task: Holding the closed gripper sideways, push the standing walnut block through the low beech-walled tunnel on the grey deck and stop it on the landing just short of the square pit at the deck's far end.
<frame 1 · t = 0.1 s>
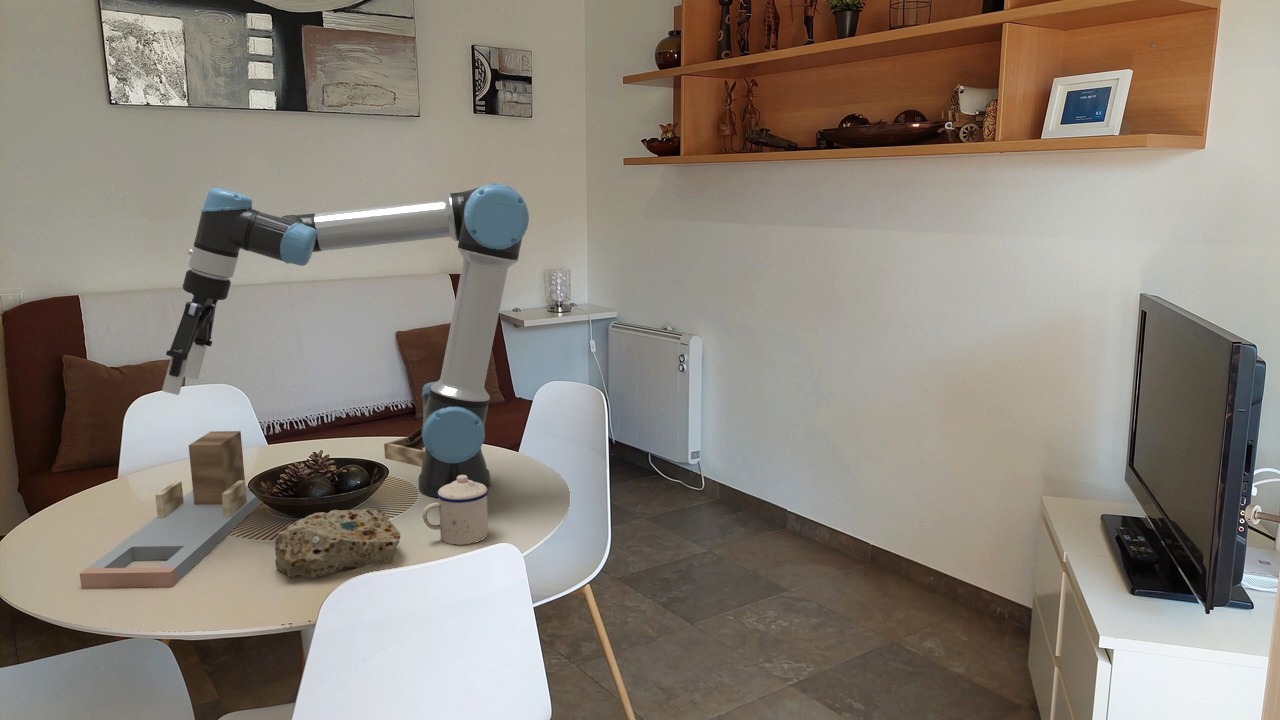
hand: (180, 384, 169), 28 cm above the table, tool tilted 20°, fingers open, 13 cm apart
walnut block: (220, 495, 185), point 2 cm above the table, touching grey deck
oak coaster frame: (429, 454, 221), on the table
beech tunnel walls: (202, 498, 176), on the grey deck, point 5 cm above the table
teacup with lid: (456, 539, 169), on the table
rock: (340, 564, 158), on the table
pottery mug: (430, 455, 221), on the table
grey deck: (186, 537, 170), on the table
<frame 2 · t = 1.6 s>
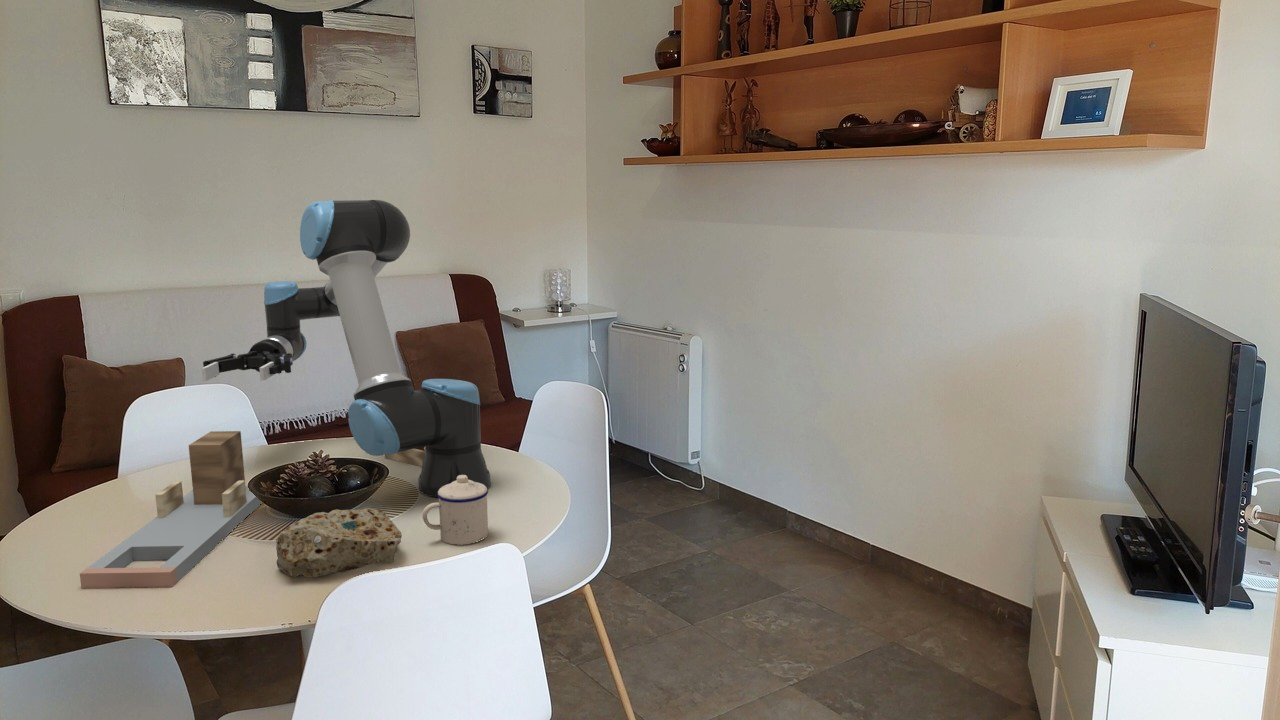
hand: (232, 374, 191), 25 cm above the table, tool horizontal, fingers open, 11 cm apart
nothing on the table moved.
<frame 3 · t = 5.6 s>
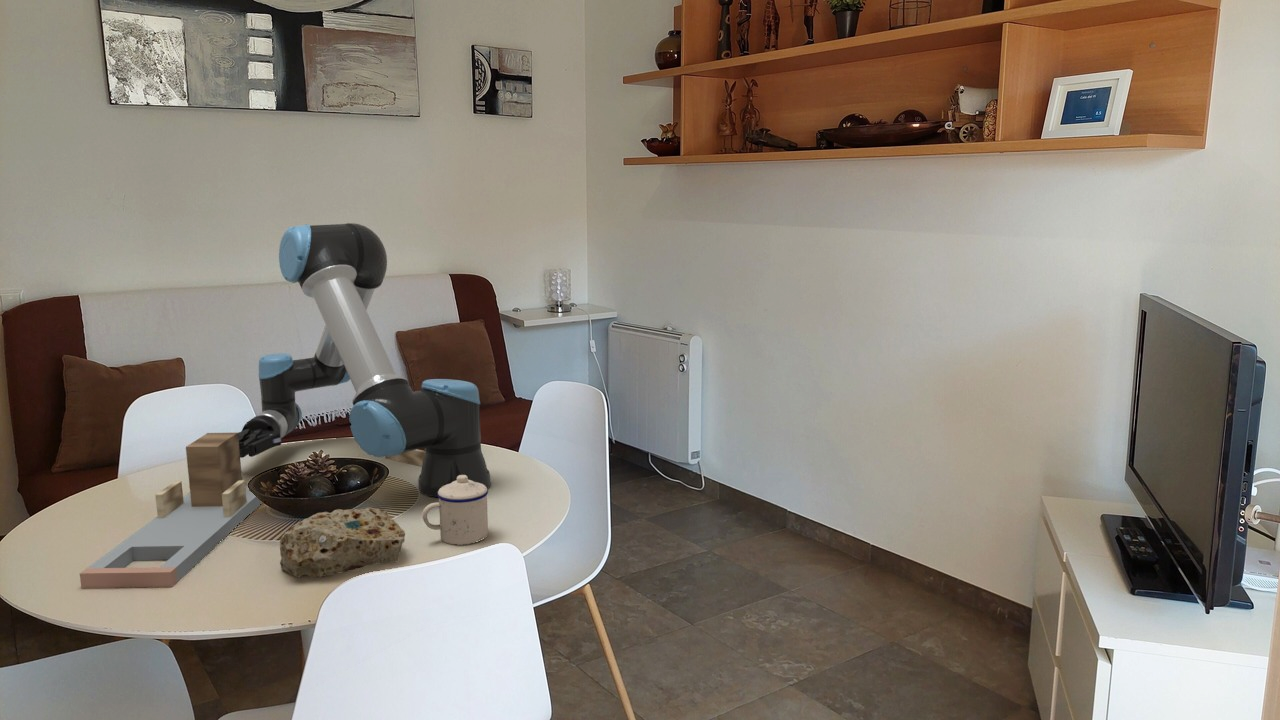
hand: (221, 461, 187), 8 cm above the table, tool horizontal, fingers closed
walnut block: (217, 497, 183), point 3 cm above the table
everything else where it was.
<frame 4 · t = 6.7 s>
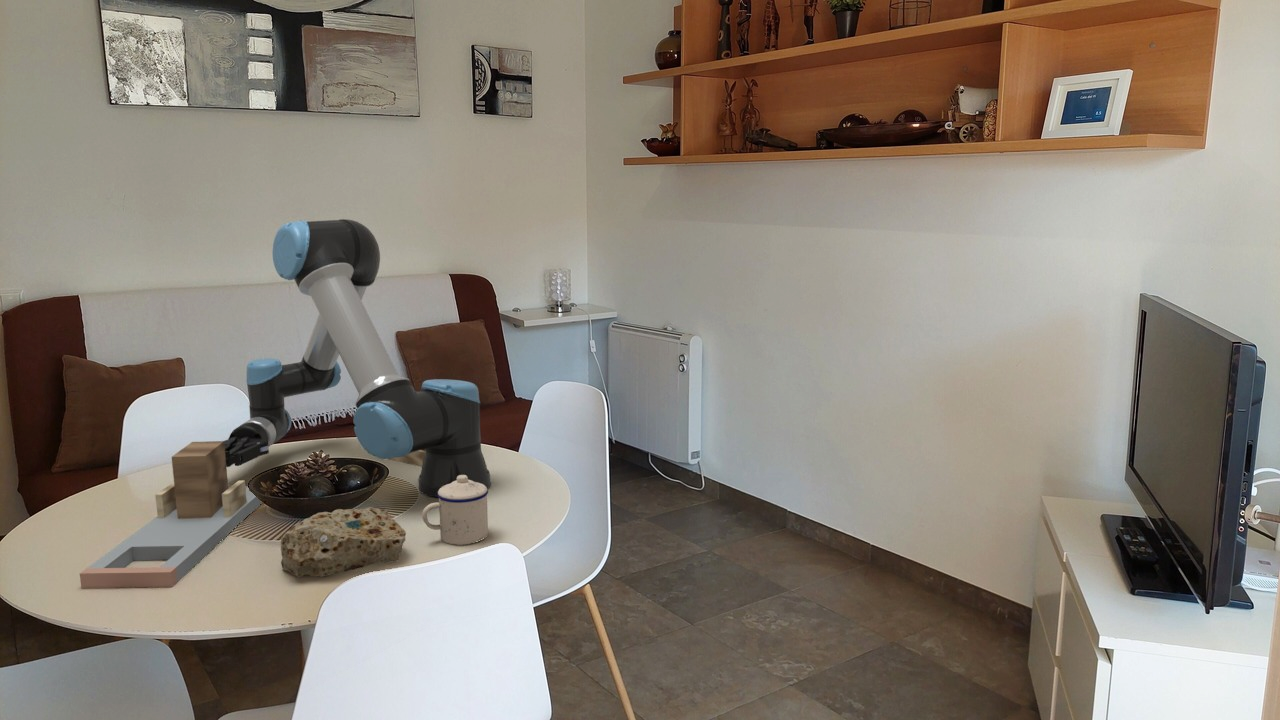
hand: (205, 471, 181), 8 cm above the table, tool horizontal, fingers closed
walnut block: (204, 508, 177), point 3 cm above the table, touching grey deck, gripper
everything else where it was.
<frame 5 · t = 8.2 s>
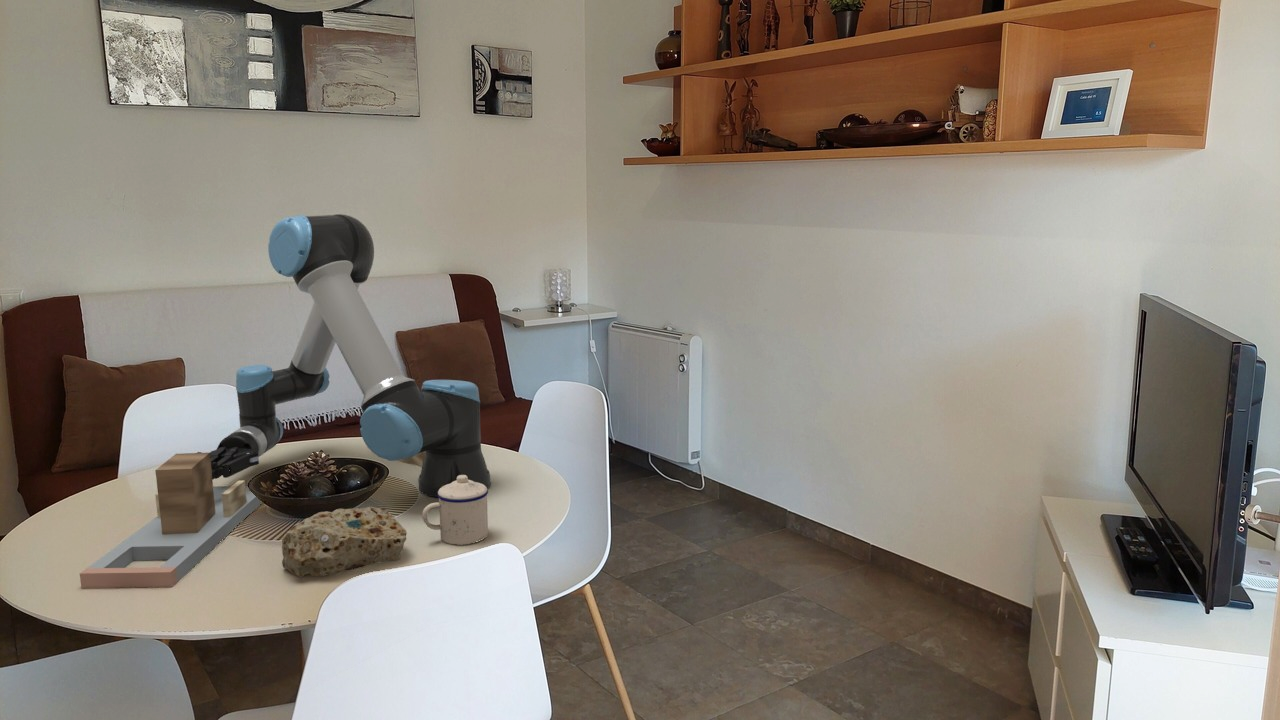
hand: (192, 483, 174), 8 cm above the table, tool horizontal, fingers closed
walnut block: (189, 523, 170), point 3 cm above the table
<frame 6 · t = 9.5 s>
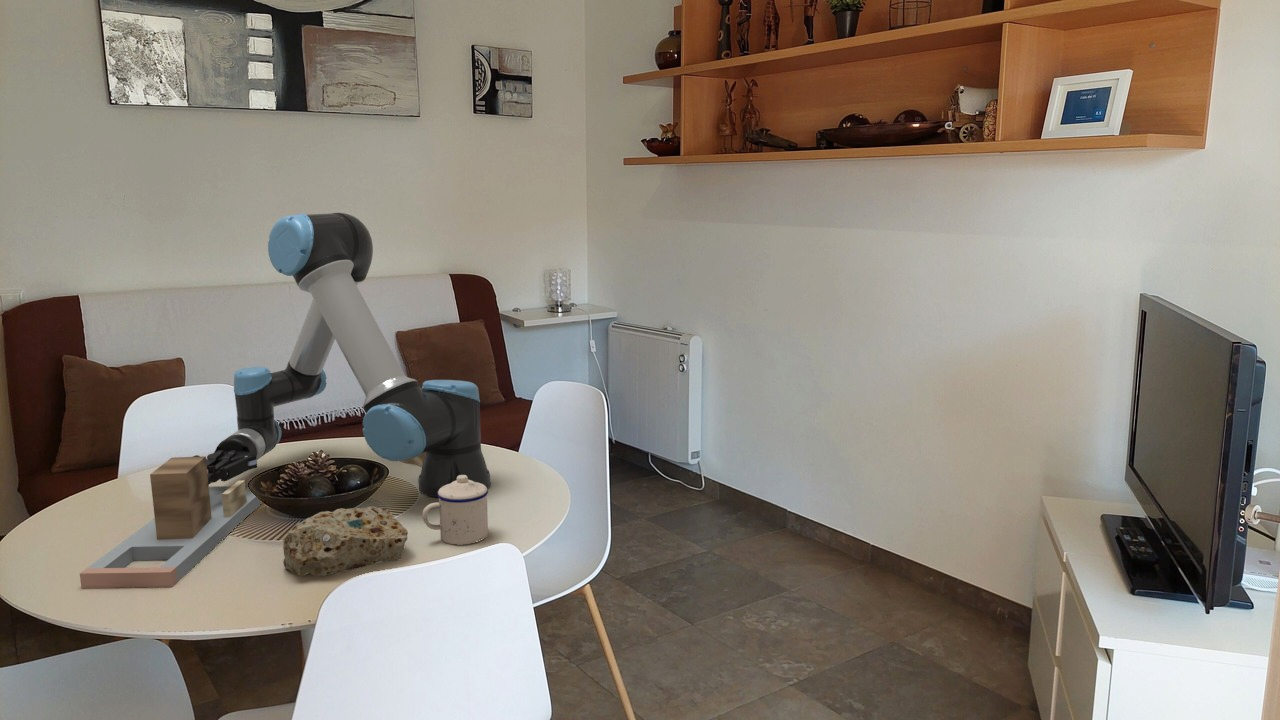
hand: (189, 487, 171), 9 cm above the table, tool horizontal, fingers closed
walnut block: (185, 528, 167), point 2 cm above the table, touching grey deck, gripper
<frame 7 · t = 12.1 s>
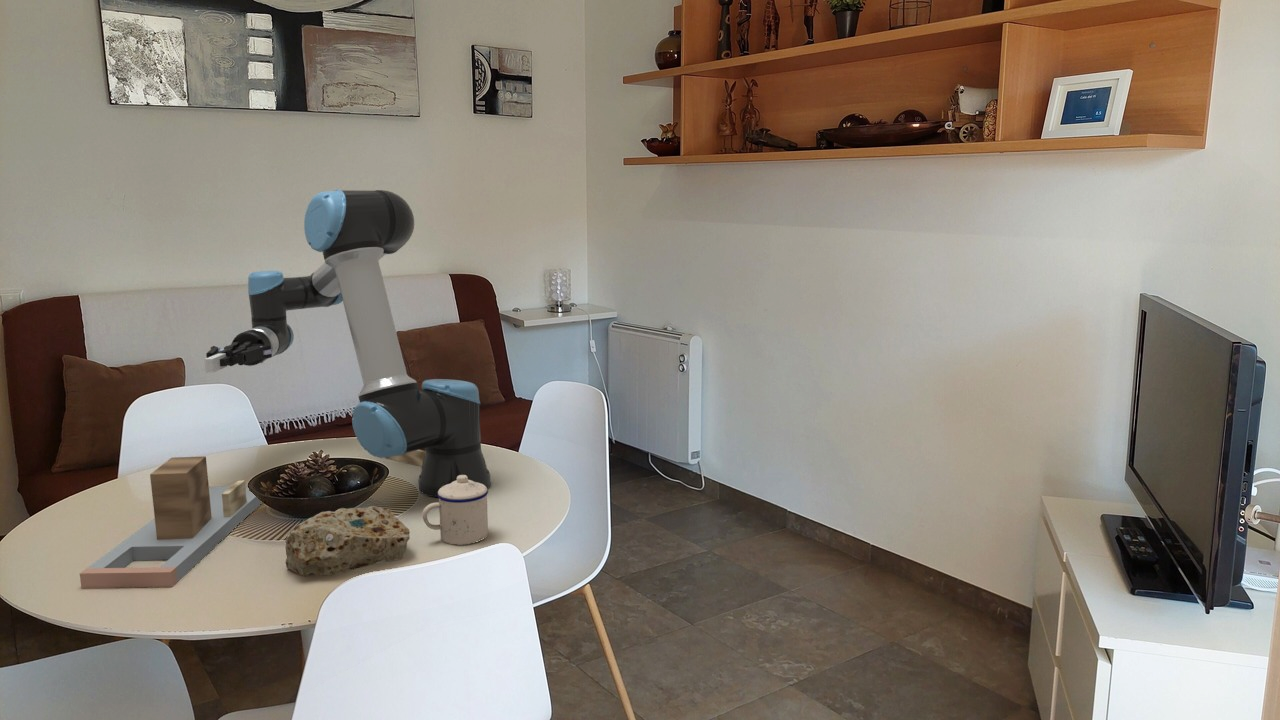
hand: (208, 365, 180), 29 cm above the table, tool horizontal, fingers closed
walnut block: (185, 528, 167), point 2 cm above the table, touching grey deck
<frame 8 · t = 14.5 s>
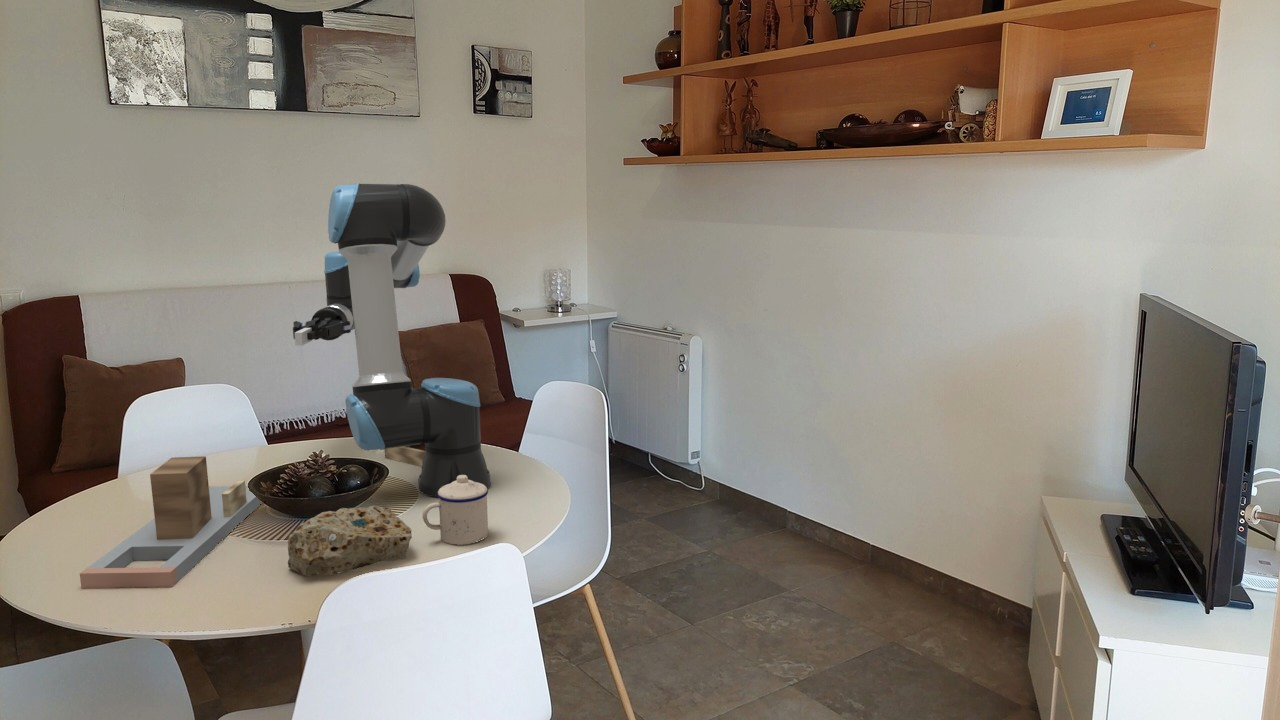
hand: (298, 339, 192), 32 cm above the table, tool horizontal, fingers closed
at the end: walnut block inside the target area (1.1 cm from its centre), point 2.5 cm above the table; walnut block tilted 0°; walnut block point 2.5 cm above the table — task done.
